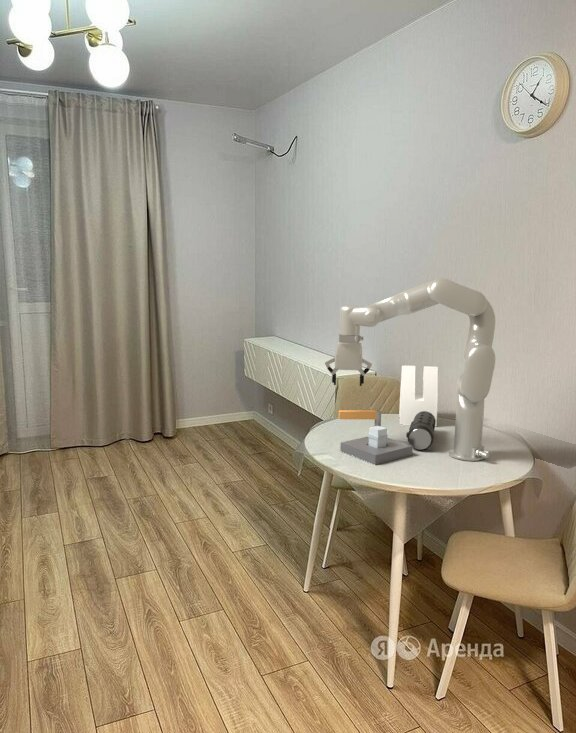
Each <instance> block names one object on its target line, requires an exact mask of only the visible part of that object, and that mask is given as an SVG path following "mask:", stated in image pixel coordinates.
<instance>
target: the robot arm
mask: <svg viewBox="0 0 576 733" xmlns="http://www.w3.org/2000/svg"><path fill="white" fill-rule="evenodd" d="M438 304H440V305H442V306H445V307H446V308H449V309H452V310H455V311H457V312H460V313H462V314H464V315H467V316H468V317H469V318H468V319H469V327H468V335H467V340H466V344H465V349H464V354H463V357H464V360H465V363H464V368H463V369H464V370H463V372H462V373H461V374H460V375H459V376H458V378H457V383H456V409H455V410H456V411H455V412H456V413H455V423H454V424H455V425H454V436H453V448H451V449H449V451H448V454H449V456H451V457H452V458H453V459H455V460H456V459H457V460H461V461H468V462H476V461H477V462H478V461H482V460H484V459H488V458H489V456H490V453H491V452H490V451H488V450H485V445H483V428H484V414H485V399H486V398H487V397H488V395H489V393H490V389H491V385H492V382H493V376H494V370H495V366H496V354H495V351H494V349H493V342H494V335H495V330H496V314H495V310H494V309H493V306H492V305H491V303H490V301H489V300H488V299H487V297H486V296H485V295H484V294H483V293H482V292H481V291H478V290H475V289H472V288H470V287H468V286H465V285H463V284H459V283H457V282H455V281H453V280H450V279H448V278H444V277H438V278H435V279H433V280H430V281H427V282H424V283H422V284H419V285H417V286H414V287H411V288H409V289H406V290H403V291H401V292H399V293H397V294H395V295H393V296H392V295H391V296H390V297H387V298H385V299H383V300H379V301H377V302H374V303H371V304H369V305H366V306H362V307H361V306H357V305H342V306H340V309H339V319H338V320H339V323H338V324H339V326H338V329H339V330H338V341H337V342H336V345H335V351H334V357H333V358H330V359H329V360H327V361H325V362H324V364H325V366H326V368H327V370H328V372H329V373H330V374H331V383H332V384H333V386H337V374H336V373H337V372H338V371H339V370H340V371H358V372H359V387H362V385H364V384H365V383H364V382H365V375H366V374H367V373H369V371H370V369H371V367H372V365H373V363H372V362H370V361H368V360H366V359H365V358H364V357H363V346H362V343H361V341H364V336H362V335H360V334H361V333H360V331H361V330H360V329H361V327H367V328H374V327H376V326H378V325H379V323H382V322H385V321H387V320H389V319H393V318H396V317H400V316H403V315H405V316H407V315H410V314H414V313H416V312H419V311H422V310H425V309H428V308H430V307H434V306H437V305H438ZM332 363H334V368H332V366H331V364H332ZM363 364H364V365H366V367H365V369H363Z"/></svg>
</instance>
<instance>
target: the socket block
mask: <svg viewBox="0 0 576 733" xmlns="http://www.w3.org/2000/svg"><path fill="white" fill-rule="evenodd" d="M339 448H340V451H342V452H341V453H343V452H344V453H343V454H345V453H347V454H346V455H348V454H350V455H349V456H351V455H353V456H355V457H354V458H356V457H358V458H360V459H359V460H361V459H363V460H362V461H364V460H365V461H364V462H366V461H367V463H369V462H370V463H369V464H371V463H372V464H371V465H374V464H375V465H374V466H377V465H380V463H381V464H384V463H387V462H391V461H396V460H398V459H403V458H406V457H410V456H413V449H414V448H413V446H411V445H410V444H408V443H405V442H402V441H400V440H396V439H392V438H389V437H387V438H386V447H382V448H378V449H377V448H374V447H372V446H369V437H368V436H363V437H359V438H355V439H350V440H346V441H341V442H340V446H339ZM353 456H352V457H353ZM358 458H357V459H358ZM376 464H377V465H376Z"/></svg>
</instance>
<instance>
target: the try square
mask: <svg viewBox="0 0 576 733" xmlns="http://www.w3.org/2000/svg"><path fill="white" fill-rule="evenodd" d="M338 420H374V424H373V425H374V426H381V425H382V410H374V409H373V410H371V409H370V410H367V409H366V410H365V409H364V410H340V409H339V410H338ZM374 426H373V427H374ZM381 427H382V426H381Z"/></svg>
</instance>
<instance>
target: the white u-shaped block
mask: <svg viewBox="0 0 576 733" xmlns="http://www.w3.org/2000/svg"><path fill="white" fill-rule="evenodd" d="M438 370H439V368H438V366H430V365H429V366H428V365H426V366H425V365H424V366H423V372H422V373H423V374H422V380H421V381H422V382H421V390H420V391H416V365H408V364H407V365H401V372H400V373H401V376H400V389H399V393H400V394H399V409H398V410H399V412H398V418H399V417H400V419H399V425H400V424H403V425H411V422H412V421H413V420H414V418H415V416H416V415H417V414H418V413H419V412H422V411H427V412H430V413H431V414H432V415H433V416H434V417H435V420H436V424H435V426H436V427H437V421H438V420H437V419H438V404H439V402H438V401H439V400H438V398H439V397H438V396H439V390H438V389H439V387H438V386H439V383H438V378H439V377H438V376H439V374H438V373H439V371H438ZM403 425H402V426H403Z"/></svg>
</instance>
